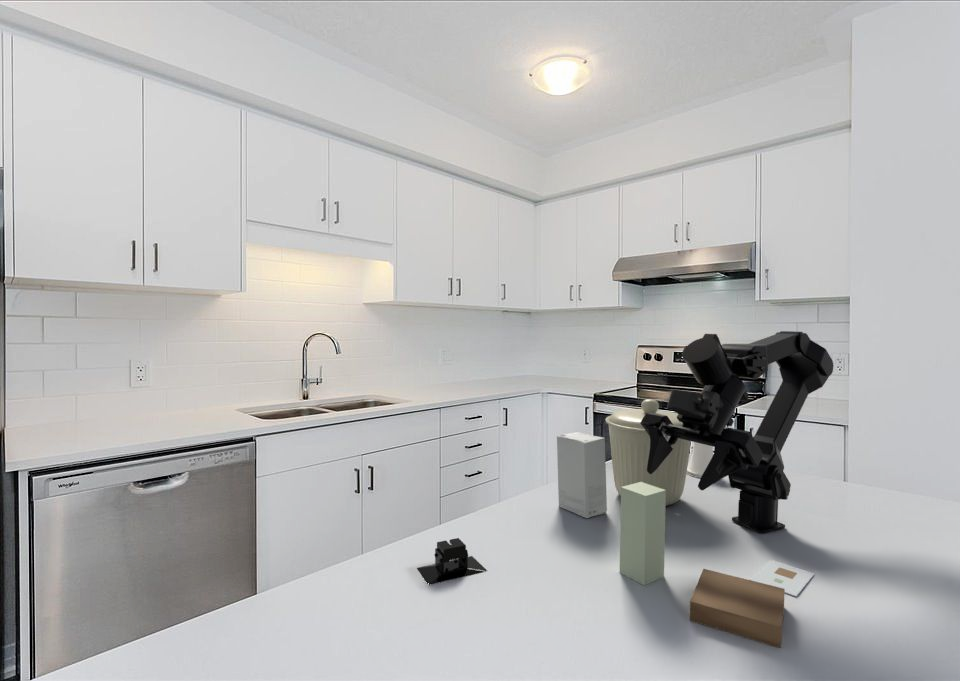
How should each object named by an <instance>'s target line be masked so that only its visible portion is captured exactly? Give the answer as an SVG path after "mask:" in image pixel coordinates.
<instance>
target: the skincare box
mask: <svg viewBox="0 0 960 681" xmlns="http://www.w3.org/2000/svg"><path fill="white" fill-rule="evenodd" d="M605 439H606V438H605V437H602V436H596V435H592V434H587V433H583V432H578V431H574V432H568V433H564V434H558V435H556V450H557V452H556V454H557V486H558V488H557V489H558V491H557V492H558V493H557V494H558V507H559V508H561V509H563V510H566V511H569V512H571V513H574V514H575V515H578V516H580V517H583V518H585V519H589V518H591V517H594V516H595V517H596V516H600V515H603V514H604V515H605V514H607V511H608V503H607V499H608V498H607V470H606V469H607V467H606V465H607V464H606V440H605Z"/></svg>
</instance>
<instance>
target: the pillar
mask: <svg viewBox="0 0 960 681" xmlns="http://www.w3.org/2000/svg"><path fill="white" fill-rule="evenodd" d="M665 503H666V490H664V489H661V488H658V487H655V486H652V485H649V484H646V483H643V482H638V483H635V484H631V485H627V486H623V487H621V495H620V523H619V525H620V526H619V527H620V528H619V529H620V530H619V531H620V532H619V534H620V535H619V573H620V574H623V575H624V576H626V577H628V578H629V579H632V580H633V581H635V582H638V583H639V584H641V585H642V586H645V585H648V584H650V583H652V582H654V581H657V580H660V579H662V578H664V577H665V548H666V546H665V544H666V540H665V538H666V506H665Z"/></svg>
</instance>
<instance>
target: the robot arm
mask: <svg viewBox="0 0 960 681" xmlns="http://www.w3.org/2000/svg"><path fill="white" fill-rule="evenodd" d="M681 355H682V358H683V360H684V361H685V364H686V365H687V367H688V368H689V370H690V371H691V373H692V375H693V377H694V378H695V380H696V381H697V383H699V384H700V385H703V389H702V390H701V392H700V393H698V392H694V391H689V390H682V389H681V390H680V389H671V392H670V396H669V399H668V401H667V405H666V408H667V409H668V411H670V410H671V411H673V412H674V413H677V414H678V415H677V419H678V420H679V422H682V423H683V425H682V427H681V426H676V425H673V423H672V422H671V421H670V419H669V418H668V416H666V415H661V414H656V413H646V414H645V416H644V417H643V419H642V420H641V422H640V424H641V425H642V426H643V428H644V429H645V431H646V432H647V433H648V435H649V436H650V451H649V458H648V465H647V472H648V473H649V474H652V473H653V472H654V471H656V470H657V468H658V467H659V466H660V465H661V463H662V462H663V461H664V460H665V459H666V457H667V456H668V455H669V454H670V452H671V451H672V450H673V448H672V447H671V445H673V444H675V443H676V441H677V439H678V438H679V439H684V440H688V441H691V442H692V443H693V442H696V443H700V444H704V445H709V446H713V457H712V458H711V460H710V462H709V464H708V466H707V468H706V469H705V471H704V473H703V475H702V477H701V478H699V479H700V480H699V482H698V484H697V488H698V489H699V490H700V491H705V490H706V489H707V488H709V487H711V486H713V485H714V484H716V483H718V482H719V481H721V480H722V479H724V478H725V477H728V480H729V486H730V488H731V489H735V490H736V489H737V490H739V499H738V503H737V504H738V505H737V507H738V508H737V509H738V510H737V512H738V513H737V516H732V517H731V521H732V522H734V523H737V524H740V525H741V526H744V527H745V528H748V529H750V530H753V531H755V532H758V533H760V534H765V533H769V532H773V531H777V530H781V529H785V528H786V524H785V523H782V522H780V521H778V516H779V511H778V510H779V500H784V501H785V500H788V498H789V496H790V492H791V485H792V484H791V482H790V481H789V479H788V477H787V475H786V473H785V472H784V470H785V465H784V461H783V456H782V454H781V452H782V450H783V448H784V445H785V443H786V442H787V439H788V437H789V435H790V433H791V431H792V429H793V427H794V425H795V422H796V420H797V419H798V416H799V414H800V412H801V410H802V408H803V406H804V404H805V401H806V400H807V398H808V396H809V395H810V394H812V393H813V392H815V391H817V390H819V389H821V388H822V387H823V388H824V385H825V384H826V383H827V381H828V379H829V377H831V376H832V374H833V372H834V361H833V359H832V357H831V355H830V354H829V352H828V350H827V349H826V348H825V347H823V346H821V345H820V344H819V343H816V342H815V341H813V340H812V339H811V338H810V336H809V335H808V333H806V332H803V331H791V330H790V331H789V330H787V331H786V330H785V331H783V330H780V331H778V332H776V333H775V334H773V335H770V336H767V337H764V338H761V339H758V340H755V341H753V342H750V343H721V340H720V338H719V337H718V334H717V333H704V334H703V336H702V337H701V338H698V339H695V340H693V341H691V342H690V343H689V344H688V345H685V346H684V348H683V350H682V354H681ZM772 363H776V364H777V366H778V367H779V368H778V370H779V373H780V376H781V380H782V381H781V384H780V385H779V387H778V389H777V391H776V394H775V395H774V397H773V399H772V401H771V403H770V405H769V407H768V409H767V411H766V413H765V415H764V416H763V419H762V420H761V423H760V424H759V426H758V429H757V430H756V432H755V434H754V435H753V434H752V432H751V431H747V430H744V429H738V428H733V427H732V426H733V424H734V422H735V421H734V420H733V418H732V415H733V413H734V412H735V409H736V408H737V407H738V404H739V402H740V401H744V402H748V401H749V393H748V391H747V387H746V384H744V382H743V379H750V380H758V379H759V378H760V377H762V376H764V374H765V373H767V372H768V371H769V365H770V364H772ZM727 426H728V427H727Z"/></svg>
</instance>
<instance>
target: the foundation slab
mask: <svg viewBox="0 0 960 681" xmlns="http://www.w3.org/2000/svg"><path fill="white" fill-rule="evenodd" d="M785 594H786V593H785V589H784V588H779V587H775V586H771V585H767V584H763V583H759V582H755V581H751V580H750V579H746V578H742V577H740V576H735V575H730V574H727V573H722V572H718V571H714V570H711V569H706V568H702V571H701V574H700V576H699V579H698V580H697V583H696V586H695V588H694V590H693V594H692V595H691V598H690V601H689V621H690V622H692V623H696V624H699V625H700V624H701V625H703V626H707V627H710V628H714V629H717V630H720V631H723V632H726V633H730V634H734V635H737V636H740V637H743V638H747V639H750V640H753V641H756V642H759V643H763V644H767V645H768V646H769V645H770V646H773V647H776V648H780V649H781V648H782V637H783V626H784V625H783V624H784V613H785V612H784V610H785Z"/></svg>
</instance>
